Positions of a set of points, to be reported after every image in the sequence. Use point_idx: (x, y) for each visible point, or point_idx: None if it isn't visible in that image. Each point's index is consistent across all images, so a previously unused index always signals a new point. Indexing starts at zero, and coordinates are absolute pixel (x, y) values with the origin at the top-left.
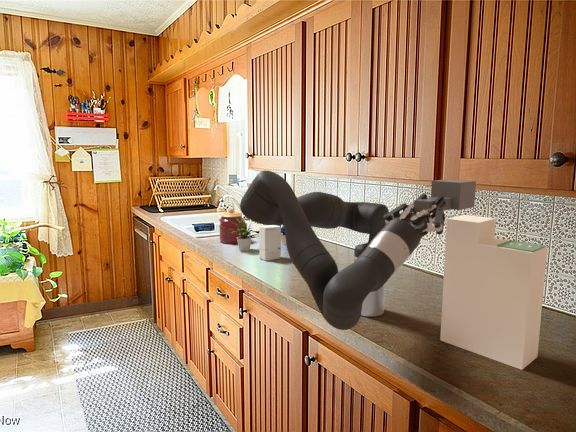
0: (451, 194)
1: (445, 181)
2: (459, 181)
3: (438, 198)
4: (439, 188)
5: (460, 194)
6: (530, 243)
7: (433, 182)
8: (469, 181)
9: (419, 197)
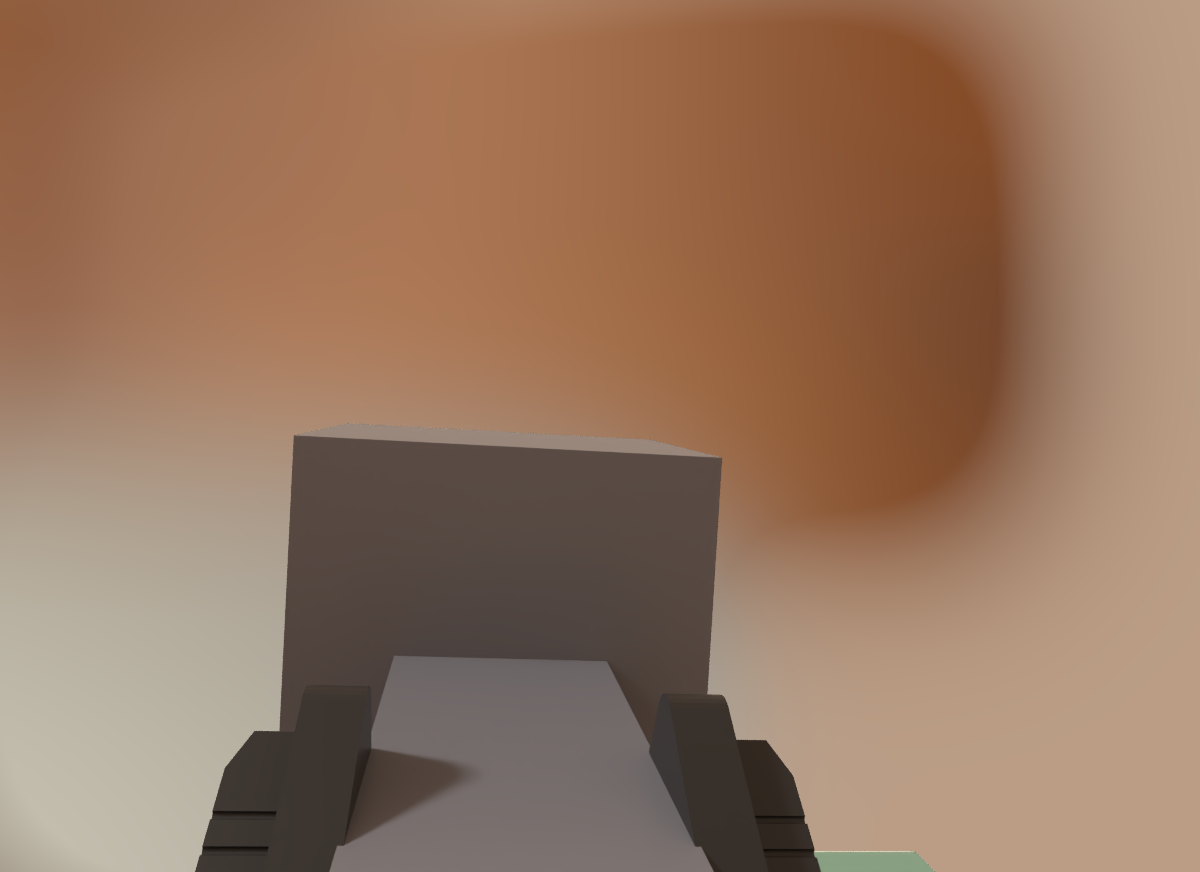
0: (597, 614)
1: (482, 443)
2: (587, 443)
3: (716, 775)
4: (418, 540)
5: (708, 606)
6: (835, 856)
7: (322, 458)
8: (649, 443)
9: (280, 794)
